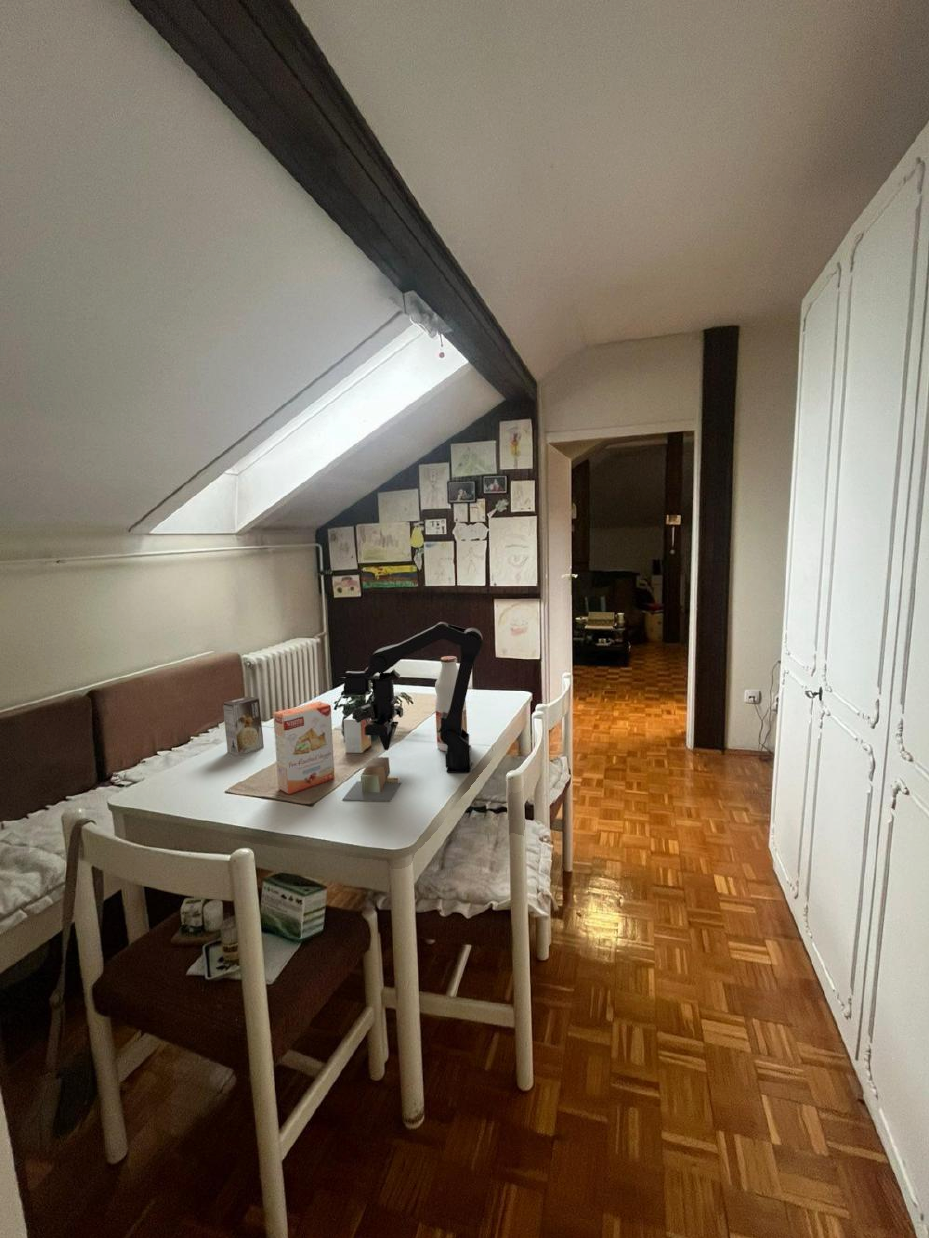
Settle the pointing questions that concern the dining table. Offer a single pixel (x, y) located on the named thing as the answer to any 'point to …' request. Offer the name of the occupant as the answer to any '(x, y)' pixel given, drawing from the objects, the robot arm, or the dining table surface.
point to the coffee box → (243, 725)
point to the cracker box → (303, 746)
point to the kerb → (391, 780)
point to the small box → (356, 735)
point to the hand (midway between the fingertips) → (386, 749)
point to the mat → (372, 793)
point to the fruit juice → (446, 694)
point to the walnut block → (375, 774)
